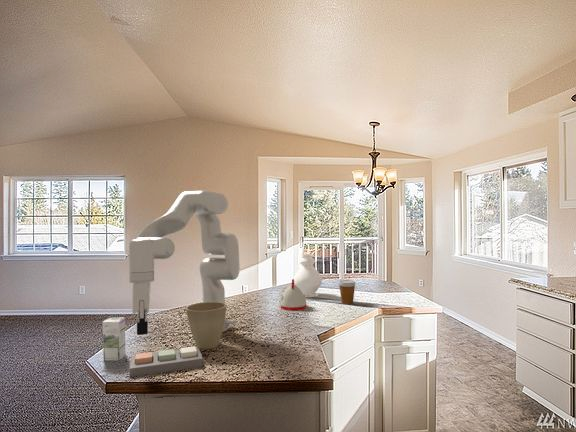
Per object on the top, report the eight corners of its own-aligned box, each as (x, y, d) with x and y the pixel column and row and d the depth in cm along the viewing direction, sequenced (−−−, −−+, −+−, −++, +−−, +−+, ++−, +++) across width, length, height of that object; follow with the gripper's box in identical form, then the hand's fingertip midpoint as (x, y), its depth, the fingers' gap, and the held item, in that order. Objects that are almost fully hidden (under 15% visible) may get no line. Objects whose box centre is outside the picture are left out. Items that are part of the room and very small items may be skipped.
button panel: (198, 356, 136) (198, 346, 136) (202, 369, 125) (202, 358, 125) (132, 366, 129) (131, 355, 129) (129, 380, 118) (129, 368, 118)
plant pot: (210, 339, 156) (209, 300, 156) (235, 346, 146) (234, 304, 146) (178, 349, 144) (177, 307, 144) (204, 358, 135) (203, 312, 135)
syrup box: (126, 357, 138) (125, 316, 138) (119, 363, 132) (118, 321, 132) (110, 357, 138) (109, 317, 138) (102, 363, 132) (101, 321, 132)
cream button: (195, 353, 133) (195, 346, 133) (196, 358, 128) (196, 351, 128) (180, 355, 131) (180, 348, 131) (181, 360, 126) (181, 353, 126)
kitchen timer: (307, 304, 214) (306, 277, 214) (305, 310, 200) (305, 281, 200) (282, 304, 215) (281, 277, 215) (279, 310, 201) (278, 281, 201)
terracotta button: (152, 359, 128) (152, 351, 128) (152, 364, 123) (152, 356, 123) (136, 361, 126) (136, 353, 126) (135, 367, 122) (135, 359, 122)
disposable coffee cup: (357, 304, 210) (356, 282, 210) (339, 305, 210) (339, 283, 210) (354, 300, 220) (354, 279, 220) (337, 301, 220) (337, 280, 220)
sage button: (174, 356, 130) (174, 349, 130) (175, 361, 126) (174, 353, 126) (158, 358, 129) (158, 351, 129) (158, 363, 124) (158, 356, 124)
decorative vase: (327, 293, 241) (326, 254, 241) (313, 299, 226) (312, 256, 226) (302, 291, 251) (301, 253, 251) (288, 296, 236) (287, 255, 236)
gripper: (130, 274, 131) (131, 329, 130) (127, 280, 116) (128, 341, 116) (154, 273, 133) (154, 327, 133) (154, 279, 119) (154, 339, 119)
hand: (142, 333), depth 124 cm, fingers closed
